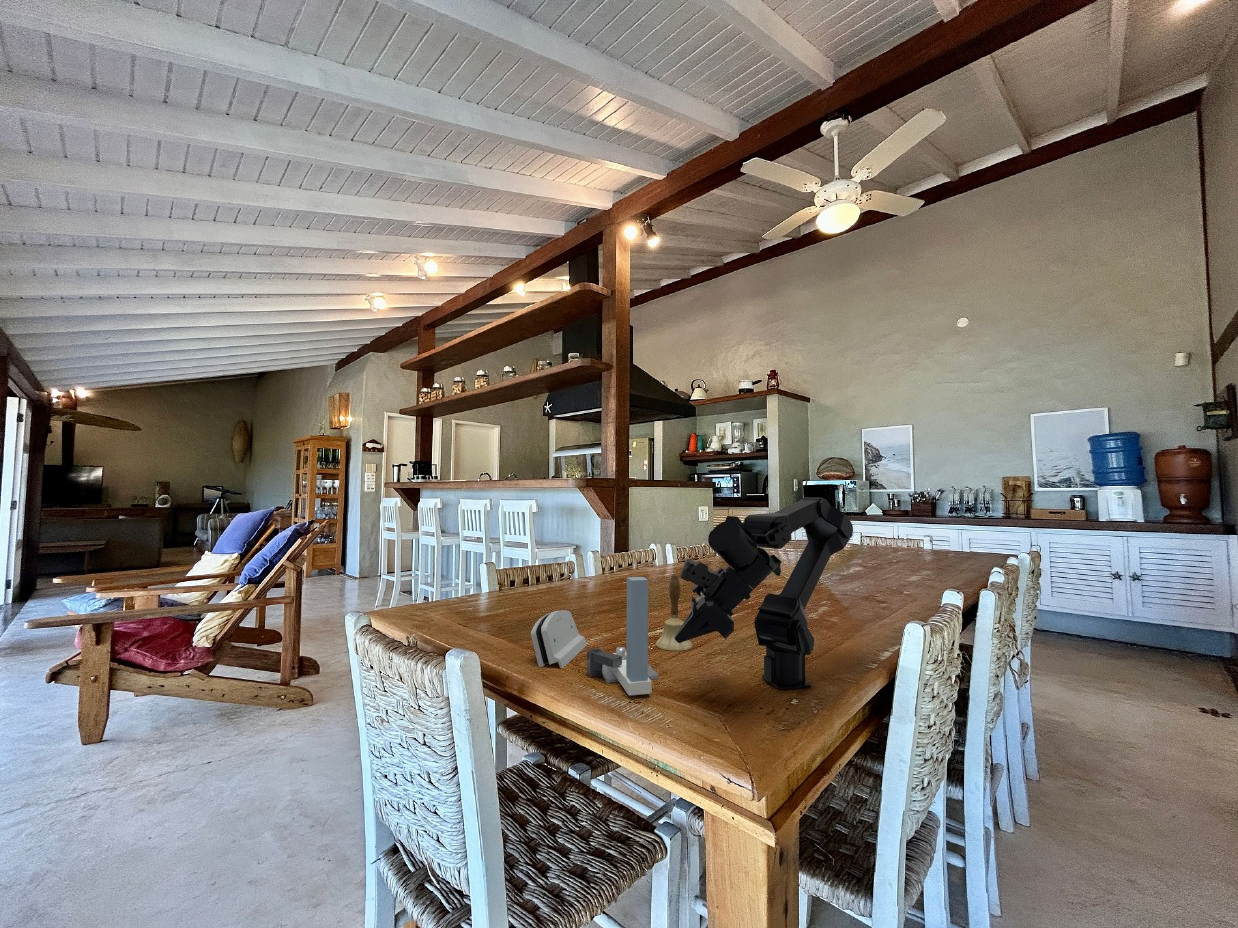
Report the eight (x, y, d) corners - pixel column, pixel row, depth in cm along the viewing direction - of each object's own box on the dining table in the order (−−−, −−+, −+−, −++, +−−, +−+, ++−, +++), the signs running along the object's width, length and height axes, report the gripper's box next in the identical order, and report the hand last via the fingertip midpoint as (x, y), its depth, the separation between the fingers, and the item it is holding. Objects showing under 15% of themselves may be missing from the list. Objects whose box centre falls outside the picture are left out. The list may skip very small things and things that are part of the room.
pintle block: (642, 660, 105) (642, 638, 105) (660, 680, 95) (660, 655, 95) (582, 665, 102) (582, 642, 102) (593, 686, 91) (593, 660, 92)
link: (607, 663, 101) (607, 567, 102) (626, 662, 102) (627, 566, 103) (628, 695, 86) (629, 581, 87) (651, 693, 87) (651, 580, 88)
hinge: (562, 669, 100) (546, 619, 101) (540, 675, 101) (525, 625, 102) (587, 644, 116) (573, 601, 118) (569, 649, 117) (555, 607, 119)
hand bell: (699, 645, 116) (699, 574, 117) (677, 653, 110) (677, 578, 111) (670, 638, 122) (670, 570, 123) (648, 645, 116) (648, 574, 117)
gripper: (703, 538, 98) (645, 595, 98) (712, 549, 79) (640, 619, 80) (745, 580, 97) (686, 638, 97) (764, 602, 78) (691, 673, 79)
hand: (676, 640), depth 88 cm, fingers closed
